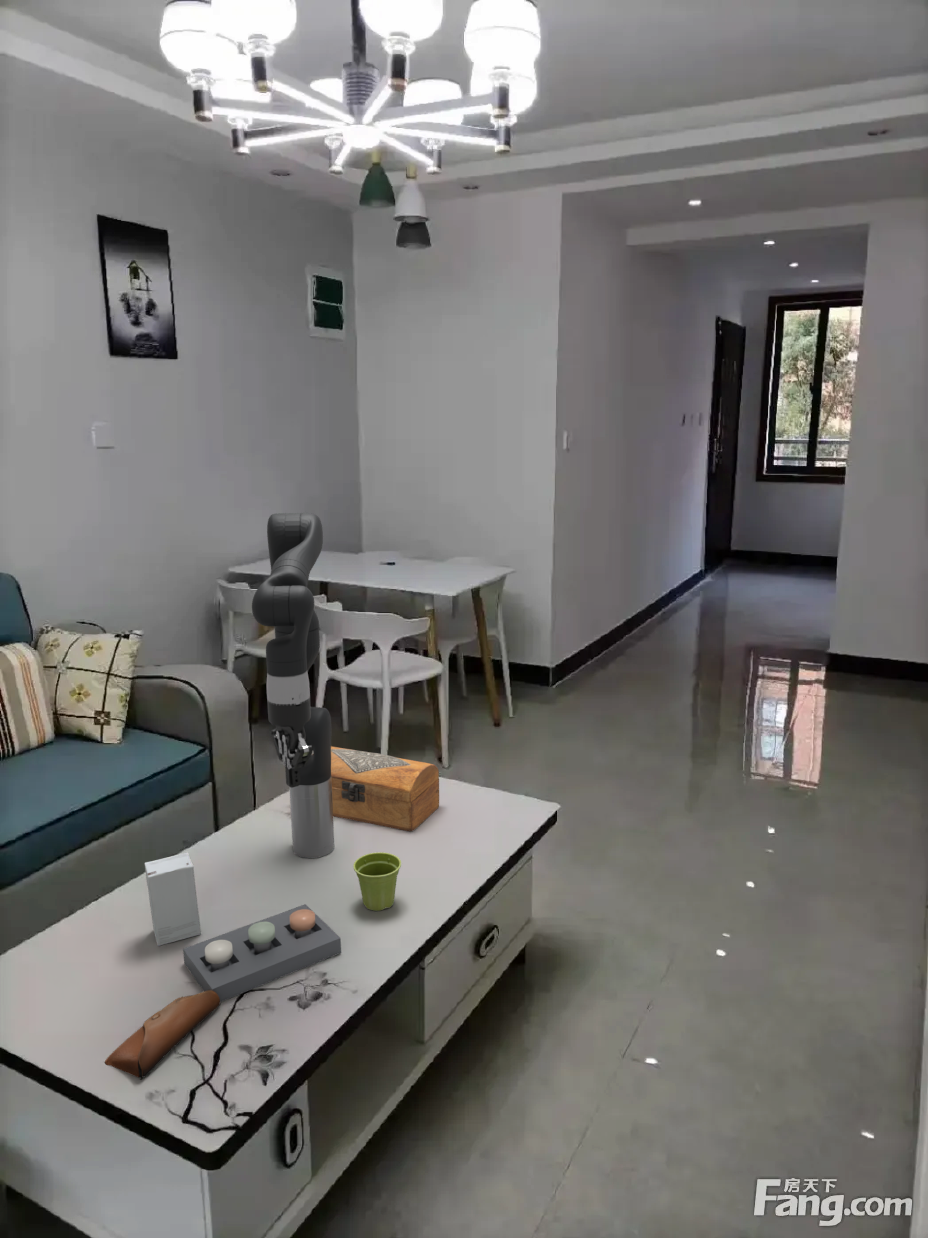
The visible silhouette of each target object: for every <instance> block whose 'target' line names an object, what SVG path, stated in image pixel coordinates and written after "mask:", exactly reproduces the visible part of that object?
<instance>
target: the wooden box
mask: <svg viewBox="0 0 928 1238" xmlns="http://www.w3.org/2000/svg"><path fill="white" fill-rule="evenodd" d="M311 755H313V753H311ZM439 773H440V772H439V768H438V767H437V766H436V765H435V764H432V763H429V762H424V761H417V760H412V759H407V758H400V757H396V756H392V755H389V754H388V755H387V754H383V753H379V752H378V753H377V752H370V751H369V752H368V751H362V750H358V749H357V750H355V749H350V748H344V747H343V748H342V747H337V746H332V745H331V780H332V801H333V818H334V817H335V818H339V819H344V820H345V819H346V820H351V821H356V822H360V823H365V824H372V825H375V826H380V827H385V828H390V829H394V830H399V831H404V832H410V833H411V832H413V831H415V830H416V829H418V827H420V825H421V824H423V823H424V822H425V821H426V820H427V819H428V818H429V817H430V816H431V815H432V814H434V812H435V811H437V810H438V809H439V807H440V774H439Z"/></svg>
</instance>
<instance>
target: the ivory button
mask: <svg viewBox="0 0 928 1238" xmlns="http://www.w3.org/2000/svg"><path fill="white" fill-rule="evenodd" d="M232 955H233V949H232V943H231V942H230V941H227V940H216V941H213V942H211V943H209V944H208V945H207V946H206V947H205V959H206V961H207V962H209V963H211V972H214V971H216V970H219V969H222V968H224V967H227V966H229V959H230V958H231V957H232Z"/></svg>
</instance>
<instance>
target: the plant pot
mask: <svg viewBox="0 0 928 1238" xmlns="http://www.w3.org/2000/svg"><path fill="white" fill-rule="evenodd" d="M352 867H353V870H354V872H355V873H356V876H357V878H358V883H359V887H360V888H359V889H360V894H361V898H362V902H363V906H365V907H366V909H367V910H370V911H378V912H379V911H382V910H385V909H389V908H391V907H392V906H394V902H395V897H396V890H397V889H396V888H397V879H398V875H399V871H400V869H401V867H402V861H401V859H400V858H399V857H398V856H397V855H395V854H392V853H390V852H384V851H383V852H378V851H376V852H371V853H370V852H369V853H367V854H364V855H361V856H360V857H358V858H357V859H356V860H355V861H354V862H353V866H352Z"/></svg>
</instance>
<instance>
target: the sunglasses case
mask: <svg viewBox="0 0 928 1238" xmlns="http://www.w3.org/2000/svg"><path fill="white" fill-rule="evenodd" d="M220 1005H221V1002H220V998H219V996H218V994H217V993H216V992H214V991H212V990H207V991H201V992H199V993H196V994H193V995H185V996H183V995H182V996H180V997H177V998H176V999H174V1000H173V1001H171V1002H170V1003H168V1004H167V1005H166V1006H165V1007H164V1008H162V1009H160V1010H158V1011H157V1012H155V1013H154V1014H152V1015H151V1016H150V1017H149V1018H148V1019H146V1020H145V1021H144V1023H143V1024H142V1026H140V1028H139V1029H137V1030H136V1031H135V1032H134V1033H132V1034H131V1035H130V1036H129V1037H128V1038H127V1039H125V1040H124V1041H123V1042H122V1043H121V1044H120V1045H118V1047H117V1048H115V1050H114V1051H112V1053H110V1054H109V1056H108V1057H107V1058H106V1059H105V1060H104V1064H105V1065H106V1066H110V1067H113V1068H115V1069H118V1070H120V1071H123V1072H124V1073H127V1074H129V1075H132V1076H135V1078H139V1080H140V1081H141V1080H142V1079H143V1078H144V1077H146V1076H148V1074H150V1073H151V1071H152V1070H154V1068H156V1066H157V1065H158V1064H159V1063H160V1062H161V1061H163V1059H164V1058H165V1057H166V1056H167V1055H168V1054H169V1053H170V1052H171V1051H172V1050H173V1049H174V1048H175V1047H176V1046H177V1045H179V1043H180V1042H181V1041H183V1039H185V1038H186V1037H188V1035H189V1034H190V1033H191V1032H192V1031H193V1030H194V1029H195V1028H196V1027H197V1026H199V1025H200V1024H201V1023H202V1022H204V1021H205V1019H206V1018H207V1017H208V1016H210V1015H211V1014H212V1013H214V1011H215V1010H216V1009H218V1007H219V1006H220Z"/></svg>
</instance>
